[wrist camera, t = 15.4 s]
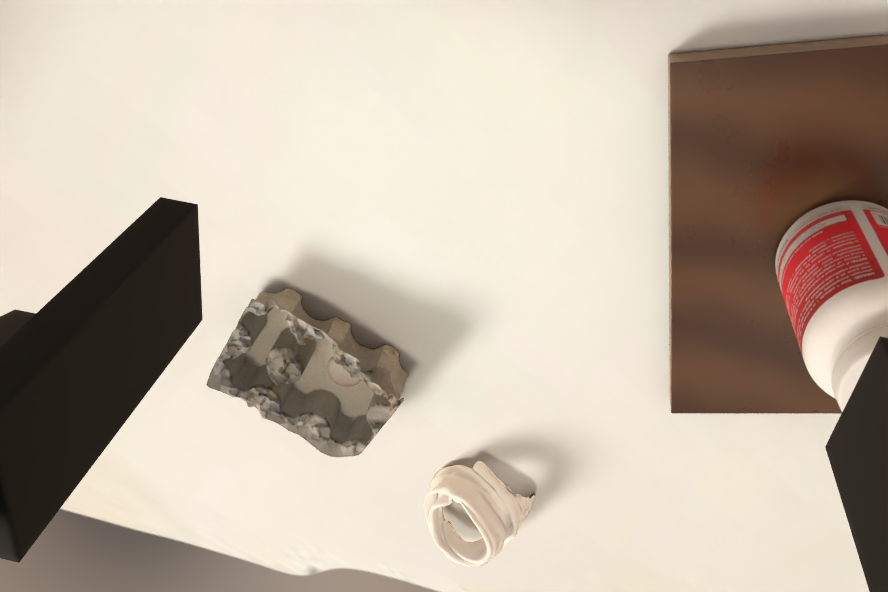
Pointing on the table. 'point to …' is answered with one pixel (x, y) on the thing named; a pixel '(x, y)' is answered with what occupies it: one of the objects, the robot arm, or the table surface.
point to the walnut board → (760, 206)
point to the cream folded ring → (474, 512)
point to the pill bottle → (836, 289)
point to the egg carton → (309, 374)
